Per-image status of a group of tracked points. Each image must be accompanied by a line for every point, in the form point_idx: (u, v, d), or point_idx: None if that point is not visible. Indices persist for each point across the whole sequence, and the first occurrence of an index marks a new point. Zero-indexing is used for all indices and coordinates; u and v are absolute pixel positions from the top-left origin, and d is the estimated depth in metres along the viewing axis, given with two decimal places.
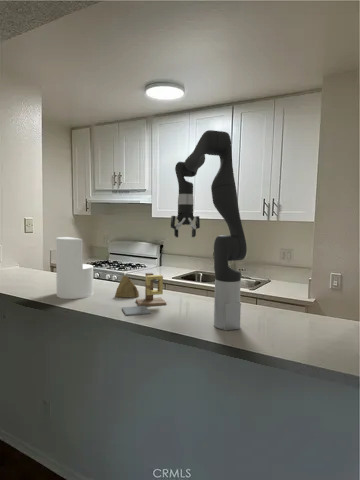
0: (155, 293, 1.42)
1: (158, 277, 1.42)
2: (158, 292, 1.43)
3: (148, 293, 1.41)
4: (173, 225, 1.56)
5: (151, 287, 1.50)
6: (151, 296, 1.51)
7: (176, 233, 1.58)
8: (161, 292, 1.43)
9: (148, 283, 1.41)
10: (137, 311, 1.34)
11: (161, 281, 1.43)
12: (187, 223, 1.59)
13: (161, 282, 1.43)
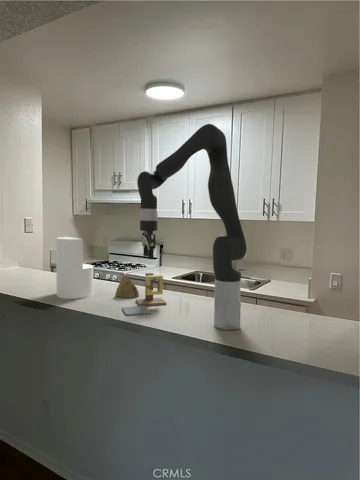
0: (155, 293, 1.42)
1: (158, 277, 1.42)
2: (158, 292, 1.43)
3: (148, 293, 1.41)
4: None
5: (151, 287, 1.50)
6: (151, 296, 1.51)
7: None
8: (161, 292, 1.43)
9: (148, 283, 1.41)
10: (137, 311, 1.34)
11: (161, 281, 1.43)
12: None
13: (161, 282, 1.43)
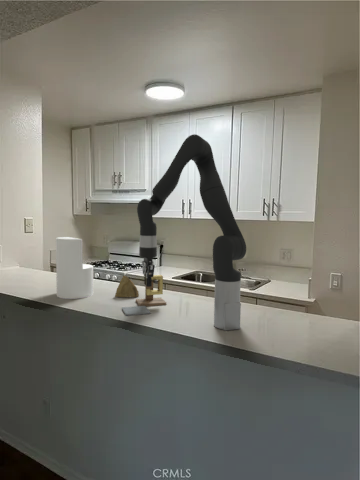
0: (155, 293, 1.42)
1: (158, 277, 1.42)
2: (158, 292, 1.43)
3: (148, 293, 1.41)
4: None
5: (151, 287, 1.50)
6: (151, 296, 1.51)
7: (150, 282, 1.40)
8: (161, 292, 1.43)
9: None
10: (137, 311, 1.34)
11: (161, 281, 1.43)
12: None
13: (161, 282, 1.43)
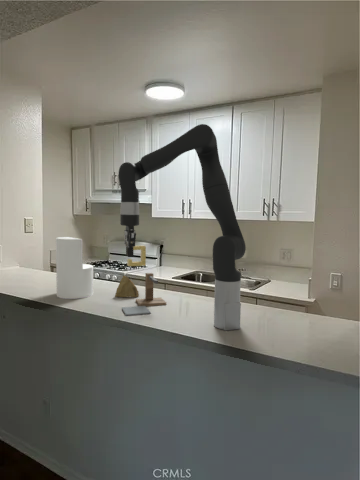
0: (137, 264, 1.34)
1: (140, 247, 1.34)
2: (141, 263, 1.34)
3: (130, 264, 1.33)
4: None
5: (151, 287, 1.50)
6: (151, 296, 1.51)
7: (132, 252, 1.32)
8: (144, 263, 1.35)
9: None
10: (137, 311, 1.34)
11: (144, 252, 1.34)
12: None
13: (144, 253, 1.34)
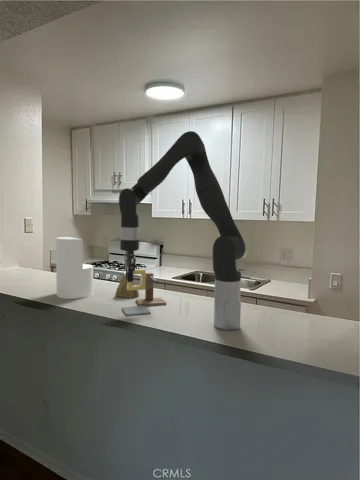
0: (137, 288, 1.35)
1: (140, 271, 1.34)
2: (140, 287, 1.35)
3: (129, 288, 1.33)
4: None
5: (151, 287, 1.50)
6: (151, 296, 1.51)
7: None
8: (144, 287, 1.35)
9: None
10: (137, 311, 1.34)
11: (144, 276, 1.35)
12: None
13: (143, 277, 1.35)
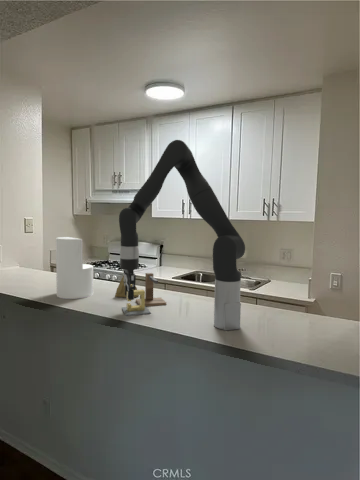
0: (137, 309, 1.35)
1: (140, 292, 1.35)
2: (140, 308, 1.35)
3: (129, 309, 1.34)
4: None
5: (151, 287, 1.50)
6: (151, 296, 1.51)
7: (132, 295, 1.32)
8: (143, 308, 1.36)
9: None
10: (137, 311, 1.34)
11: (143, 296, 1.35)
12: None
13: (143, 297, 1.35)
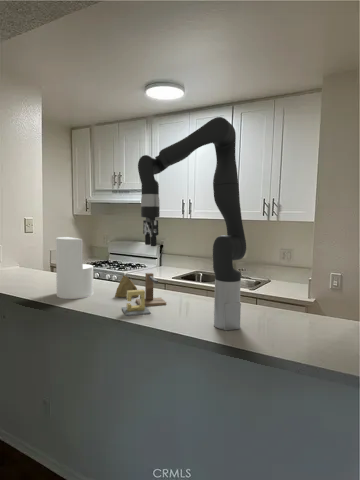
0: (137, 309, 1.35)
1: (140, 292, 1.35)
2: (140, 308, 1.35)
3: (129, 309, 1.34)
4: None
5: (151, 287, 1.50)
6: (151, 296, 1.51)
7: (155, 241, 1.31)
8: (143, 308, 1.36)
9: (129, 299, 1.34)
10: (137, 311, 1.34)
11: (143, 296, 1.35)
12: None
13: (143, 297, 1.35)
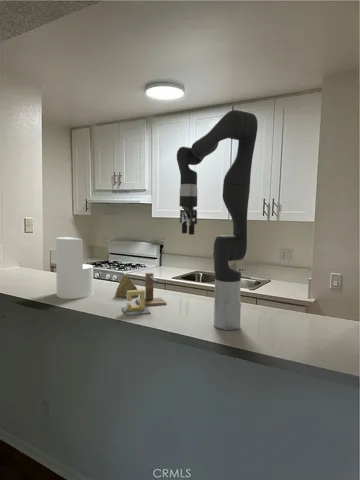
0: (137, 309, 1.35)
1: (140, 292, 1.35)
2: (140, 308, 1.35)
3: (129, 309, 1.34)
4: None
5: (151, 287, 1.50)
6: (151, 296, 1.51)
7: (193, 230, 1.36)
8: (143, 308, 1.36)
9: (129, 299, 1.34)
10: (137, 311, 1.34)
11: (143, 296, 1.35)
12: None
13: (143, 297, 1.35)
